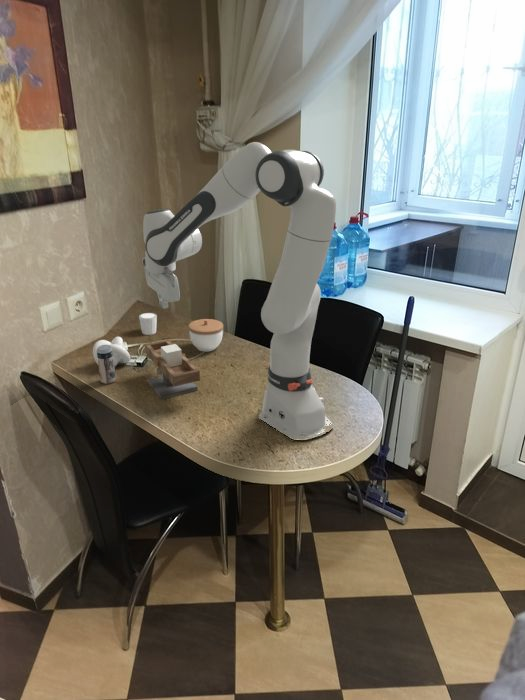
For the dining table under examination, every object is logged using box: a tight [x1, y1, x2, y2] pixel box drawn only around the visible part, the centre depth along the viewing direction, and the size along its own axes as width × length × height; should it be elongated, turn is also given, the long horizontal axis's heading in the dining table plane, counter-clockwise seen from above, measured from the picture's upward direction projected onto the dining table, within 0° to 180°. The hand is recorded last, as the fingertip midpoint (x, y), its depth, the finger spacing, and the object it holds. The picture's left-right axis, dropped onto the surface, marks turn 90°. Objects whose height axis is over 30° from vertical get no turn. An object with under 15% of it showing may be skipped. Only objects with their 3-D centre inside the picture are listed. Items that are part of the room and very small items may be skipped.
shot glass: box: [138, 312, 158, 336], centre depth 197 cm, size 7×7×7 cm
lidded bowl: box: [188, 318, 224, 353], centre depth 184 cm, size 13×13×11 cm
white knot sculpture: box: [92, 336, 131, 368], centre depth 170 cm, size 11×12×9 cm
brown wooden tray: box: [144, 339, 201, 400], centre depth 157 cm, size 25×12×10 cm, turn 31°
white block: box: [161, 343, 183, 367], centre depth 154 cm, size 5×5×5 cm
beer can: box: [97, 345, 116, 385], centre depth 159 cm, size 5×5×12 cm
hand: (164, 307), depth 157 cm, fingers closed
